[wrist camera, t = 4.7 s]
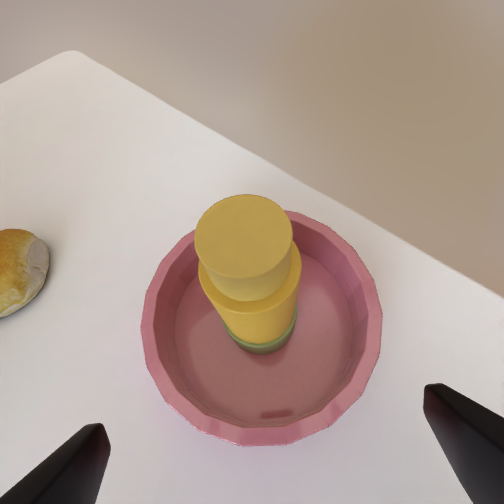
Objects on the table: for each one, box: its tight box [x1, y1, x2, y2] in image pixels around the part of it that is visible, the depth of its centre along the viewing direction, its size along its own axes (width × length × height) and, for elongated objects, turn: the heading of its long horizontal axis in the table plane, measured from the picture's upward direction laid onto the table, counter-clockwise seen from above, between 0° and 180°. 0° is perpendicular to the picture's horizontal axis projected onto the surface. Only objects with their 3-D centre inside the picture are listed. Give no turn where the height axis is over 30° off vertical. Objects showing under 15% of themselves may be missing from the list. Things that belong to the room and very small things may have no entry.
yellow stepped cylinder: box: [194, 194, 302, 355], centre depth 15 cm, size 5×5×12 cm
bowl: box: [141, 210, 382, 446], centre depth 19 cm, size 15×15×4 cm
